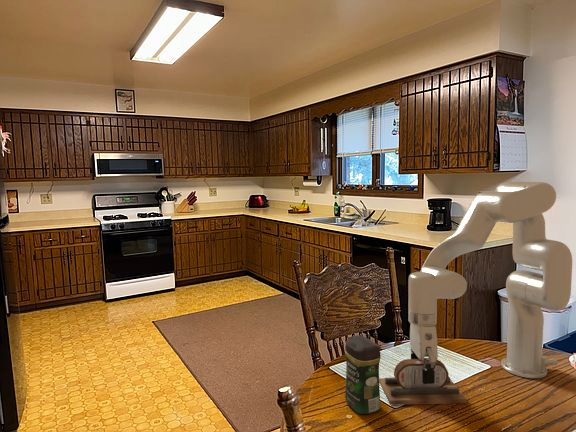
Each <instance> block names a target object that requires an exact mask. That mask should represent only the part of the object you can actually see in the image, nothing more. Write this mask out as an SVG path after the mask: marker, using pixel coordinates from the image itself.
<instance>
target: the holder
mask: <svg viewBox="0 0 576 432" xmlns="http://www.w3.org/2000/svg"><path fill="white" fill-rule="evenodd" d="M379 386H380V387H381V389H382V391H383V393H384V395H386V396H385V398H386V397H387V398H386V400H387V399H388V400H387V402H388V401H389V402H388V404H389V405H390V406H392V405H391V404H406V405H435V404H436V405H438V404H439V405H441V404H442V405H443V404H467V403H468V402H467V401H468V399H467V397H466V396H465V395H464V393H463V392H462V391H461V390H460V387H458V386H457V385H456V384H455V383H454V382H453V381H452V379H451V377H450V376H449V375H448V380H447V383H446V384H445V385H444V386H443V387H435V388H402V387H401V386H400V385H399V384H398V382H397V381H396V379H395V377H384V378H383V377H382V378H380V377H379Z"/></svg>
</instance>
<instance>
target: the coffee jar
mask: <svg viewBox="0 0 576 432" xmlns="http://www.w3.org/2000/svg"><path fill="white" fill-rule="evenodd" d="M344 351H345V352H344V354H345V365H346V367H345V369H346V370H345V373H346V374H345V391H344V392H345V395H344V397H345V402H346V404H348V406H349V407H350V409H352V410H353V411H355V412H356V413H358V414H360V415H362V414H363V415H372V414H374V413H376V412H377V411H379V410H380V409H381V392H380V391H381V390H380V389H381V388H380V383H379V378H380V361H381V356H382V354H381V347H380V345H379V344H378V343H376V342H374V341H373V340H371V339H370V338H367V337H365V336H363V335H362V334H358V335H353V336H349V337H348V338H347V339H346V340H345V348H344Z"/></svg>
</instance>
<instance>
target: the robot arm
mask: <svg viewBox="0 0 576 432" xmlns="http://www.w3.org/2000/svg"><path fill="white" fill-rule="evenodd" d="M556 200H557V191H556V189H555V187H553V186H552V185H551V184H550V183H547V182H545V181H505V182H502V183H499V185H497V186H496V187H495V190H494V191H490V190H489V191H482V192H479V193H477V194H476V195H475V196H474V197H473V199H472V201H471V203H470V204H469V206H468V208H467V209H466V211H465V214H464V215H463V217H462V219H461V221H460V223H459V224H458V226H457V228H456V229H455V231H454V232H453V234H451V235H450V236H448V237H447V238H446V239H444V240H443V241H442V242H440V243H439V244H437V245H436V246H435V247H434V248H433V249H432V250H431V252H430V253H429V254H428V256H427V257H426V259H425V260H424V263H423V264H422V266H421V268H420V271H415V272H412V273H410V274H409V275H408V282H407V283H408V284H407V285H408V287H407V288H408V289H407V290H408V291H407V292H408V294H407V296H408V302H407V303H408V305H407V306H408V308H407V309H408V312H407V313H408V316H407V317H408V319H407V320H408V322H409V324H410V326H409V346H410V359H420V360H421V361H422V363H423V368H424V369H422V382H423V384H434V382H435V367H436V366H435V364H436V360H439V357H438V356H439V354H438V352H439V351H438V336H437V328H436V327H437V326H436V324H437V321H438V320H437V316H438V315H437V312H438V311H437V310H438V309H437V308H438V306H437V305H438V304H437V303H438V302H437V300H438V299H440V300H441V299H444V300H445V299H447V300H454V299H458V298H460V297H462V296H463V295H464V294H465V293H466V291H467V287H468V283H467V280H466V279H465V277H464V276H463V275H461V274H459V273H458V272H455V271H452V270H449V269H446V268H447V267H448V265H449V264H450V263H451V262H452V261H453V260H454V259H456V258H458V257H460V256H462V255H465V254H468V253H473V252H475V251H478V250H480V249H482V248H483V247H484V246H485V244H486V242H487V240H488V238H489V237H490V235H491V233H492V231H493V229H494V228H495V226H496V224H497V222H501V223H509V224H511V223H512V259H513V261H514V263H516V265H519V266H521V267H525V268H528V269H532V270H536V271H540V272H542V273H538V272H534V271H530V270H525V269H524V270H523V269H521V270H520V269H519V270H515V271H512V272H511V273H510V274H509V275H508V276H507V278H506V282H505V289H506V290H505V291H506V296H507V303H508V315H507V317H508V319H507V321H508V322H507V324H508V325H507V344H506V345H507V347H506V357H504V358H502V359H501V360H500V362H501V363H500V364H501V365H500V366H501V367H502V368H503V369H504V370H505V372H508V373H509V374H513V375H515V376H518V377H521V378H527V379H542V378H544V377H546V376H547V375H548V369H547V367H548V365H550V366H557V365H558V360H557V358H554V357H553V358H549V357H548V356H547V355H543V345H544V343H543V340H544V322H545V319H544V313H543V310H542V309H545V310H549V311H554V312H556V311H558V312H559V311H562V310H564V309H566V307H567V306H568V304H569V302H570V299H571V295H572V281H573V280H572V279H573V278H572V277H573V255H572V252H571V249H570V248H569V246H567V245H566V244H565V243H564V242H561V241H558V240H553V239H547V237H546V220H545V217H544V213H546V212H548V211H549V210H550V209H552V207H553V206H554V205H555V203H556ZM425 361H429V363H428V364H427V365H426V362H425Z"/></svg>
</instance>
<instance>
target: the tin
mask: <svg viewBox="0 0 576 432" xmlns="http://www.w3.org/2000/svg"><path fill="white" fill-rule="evenodd" d="M425 362H426V365H427V364H428V363H429V361H425ZM435 366H436V367H435V382H434V384H423V382H422V369H424V368H423V363H422V361H421V360H420V359H411V358H409V359H408V358H407V359H404V360H401V361H399V362H398V363H397V364H396V366H395V368H394V370H393V376H394V377H393V378H395V379H396V381H397V382H398V384H399V385H400V386H401V387H402V388H435V387H443V386H444V385H445V384H446V383H447V380H448V376H449V371H448V369H447V367H446V366H445V364H444V363H443V362H442V361H441V360H439V359H437V360H436V364H435Z"/></svg>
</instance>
